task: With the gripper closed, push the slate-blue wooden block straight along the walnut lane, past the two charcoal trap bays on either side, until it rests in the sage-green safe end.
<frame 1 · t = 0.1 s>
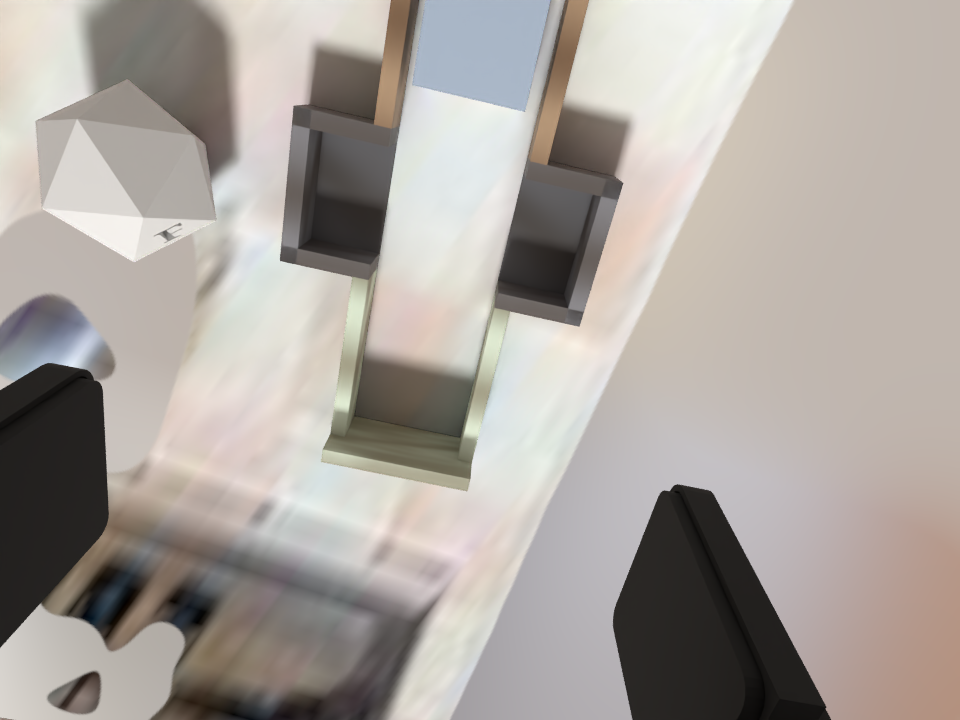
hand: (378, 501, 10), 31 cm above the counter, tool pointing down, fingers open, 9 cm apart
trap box: (449, 214, 39), on the counter
block: (483, 42, 35), on the counter
grey faceted solid: (167, 165, 39), on the counter
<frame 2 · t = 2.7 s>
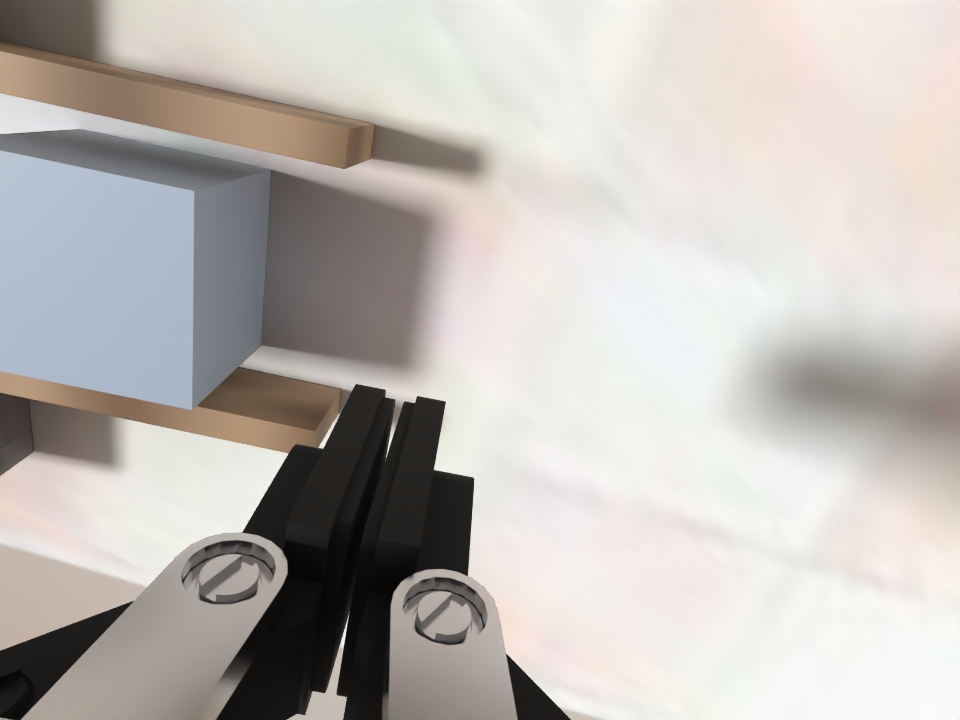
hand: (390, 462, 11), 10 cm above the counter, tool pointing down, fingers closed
block: (177, 242, 20), on the counter
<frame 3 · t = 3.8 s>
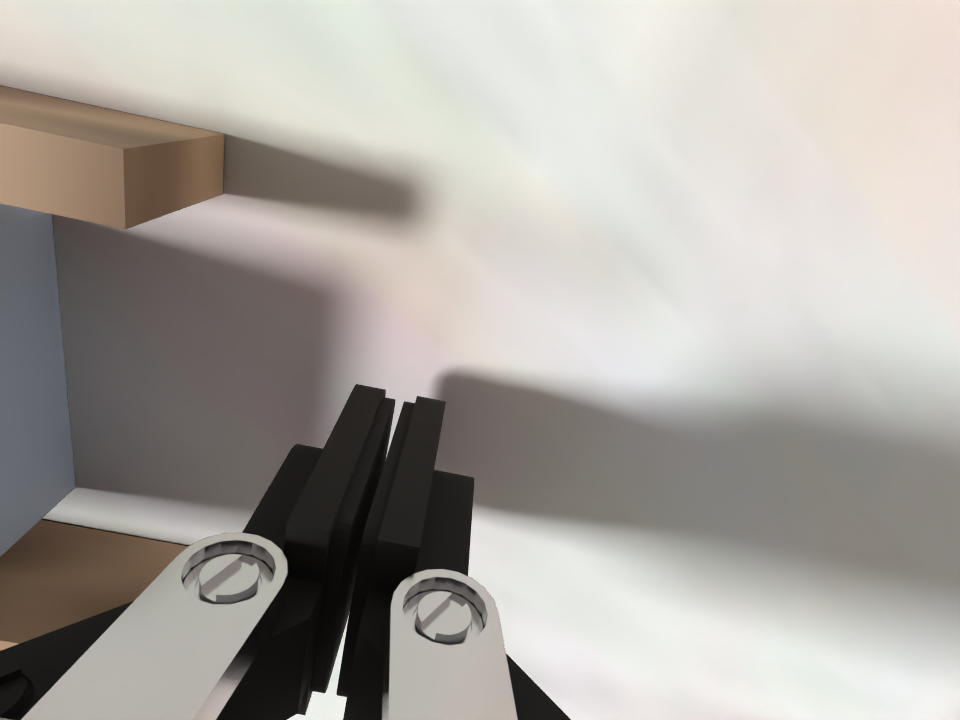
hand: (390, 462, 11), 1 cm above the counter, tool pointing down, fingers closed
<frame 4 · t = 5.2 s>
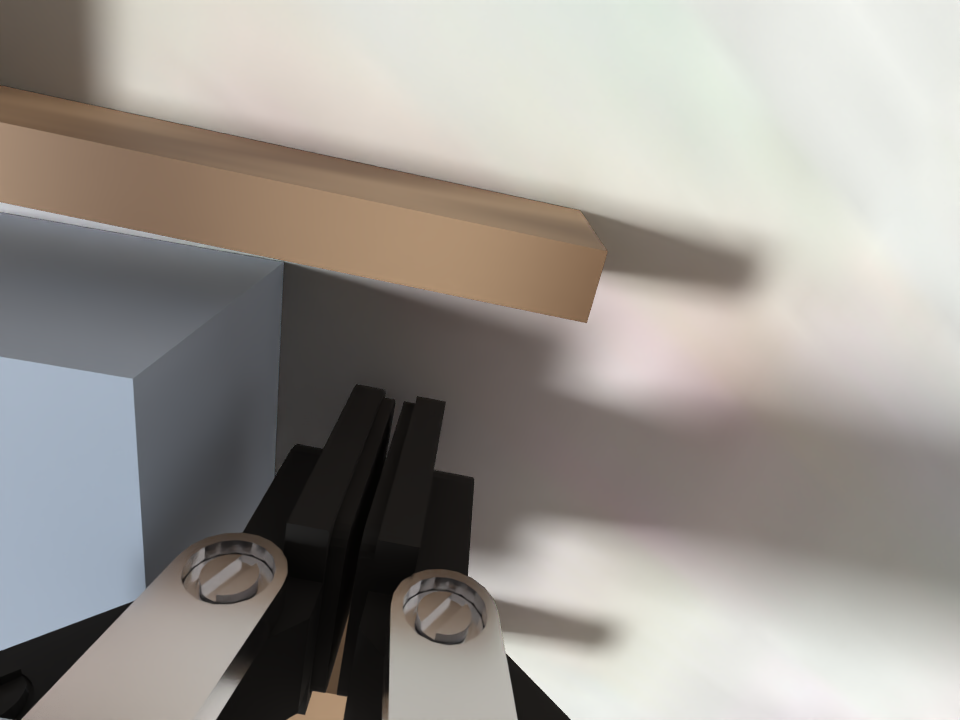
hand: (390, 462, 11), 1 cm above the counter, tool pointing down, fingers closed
block: (128, 380, 12), on the counter, touching gripper
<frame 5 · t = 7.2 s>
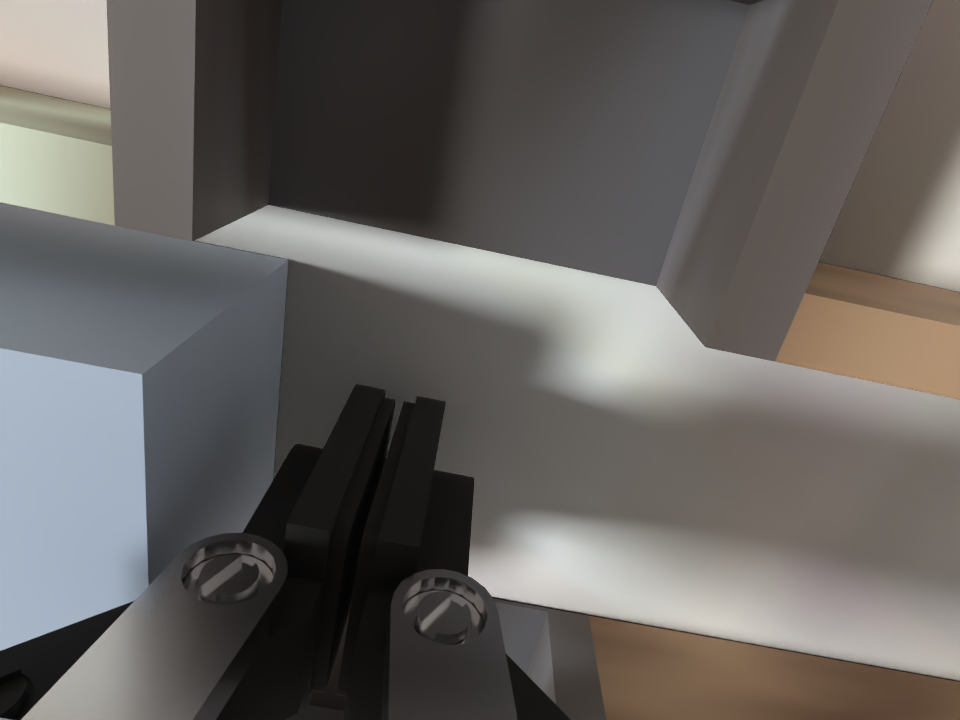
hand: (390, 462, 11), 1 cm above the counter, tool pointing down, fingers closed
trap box: (428, 434, 13), on the counter
block: (128, 375, 12), on the counter, touching gripper
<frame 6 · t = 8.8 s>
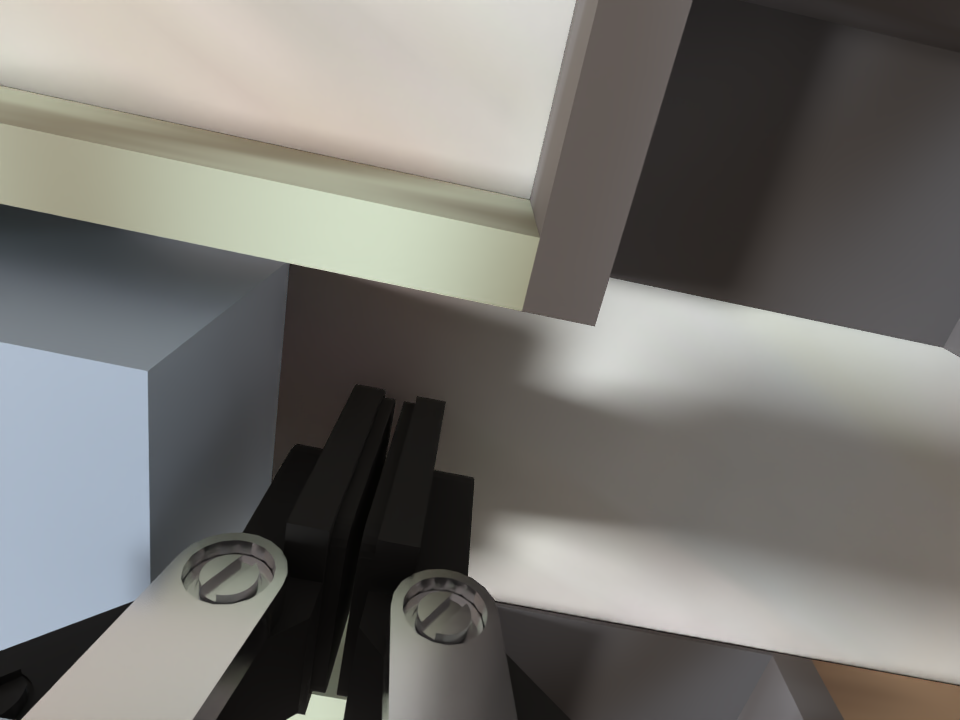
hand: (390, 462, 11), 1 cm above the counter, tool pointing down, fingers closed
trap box: (684, 486, 13), on the counter
block: (131, 370, 12), on the counter
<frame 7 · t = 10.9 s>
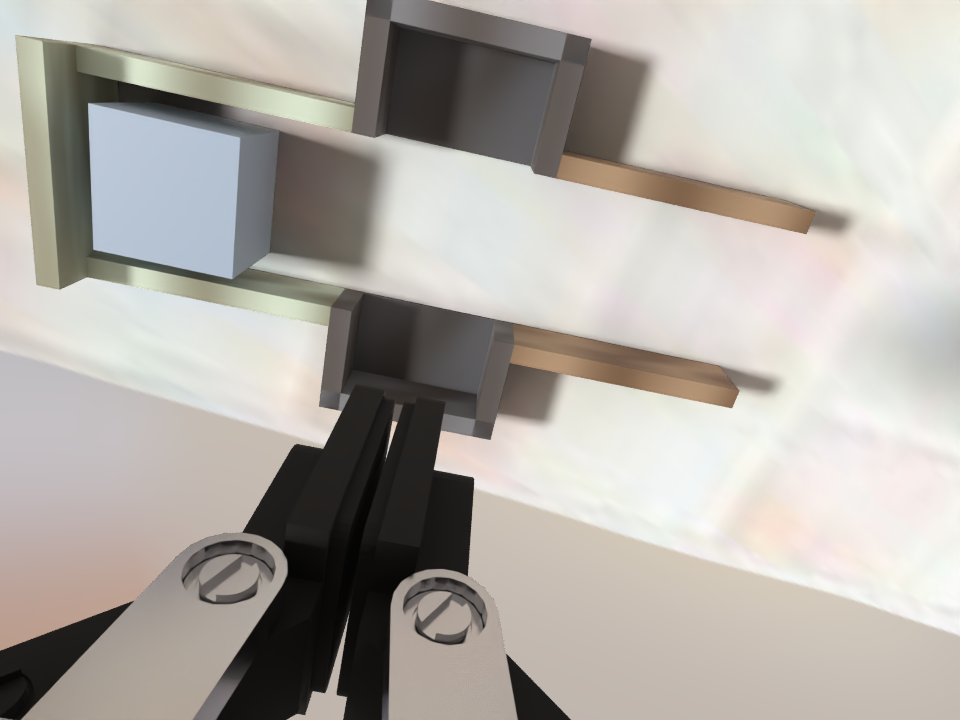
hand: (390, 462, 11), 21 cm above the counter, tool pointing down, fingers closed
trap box: (443, 231, 31), on the counter
block: (214, 180, 30), on the counter
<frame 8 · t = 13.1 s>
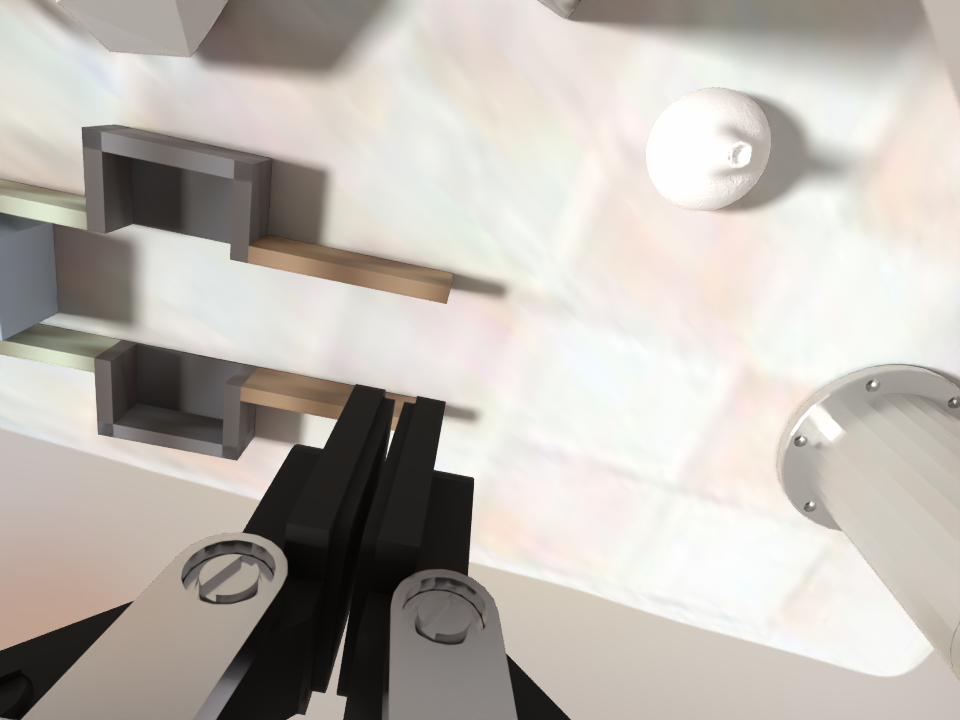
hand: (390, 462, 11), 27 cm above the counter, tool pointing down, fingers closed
garlic bulb: (696, 148, 35), on the counter
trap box: (191, 296, 39), on the counter
block: (8, 257, 38), on the counter
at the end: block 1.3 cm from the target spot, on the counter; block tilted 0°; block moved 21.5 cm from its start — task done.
